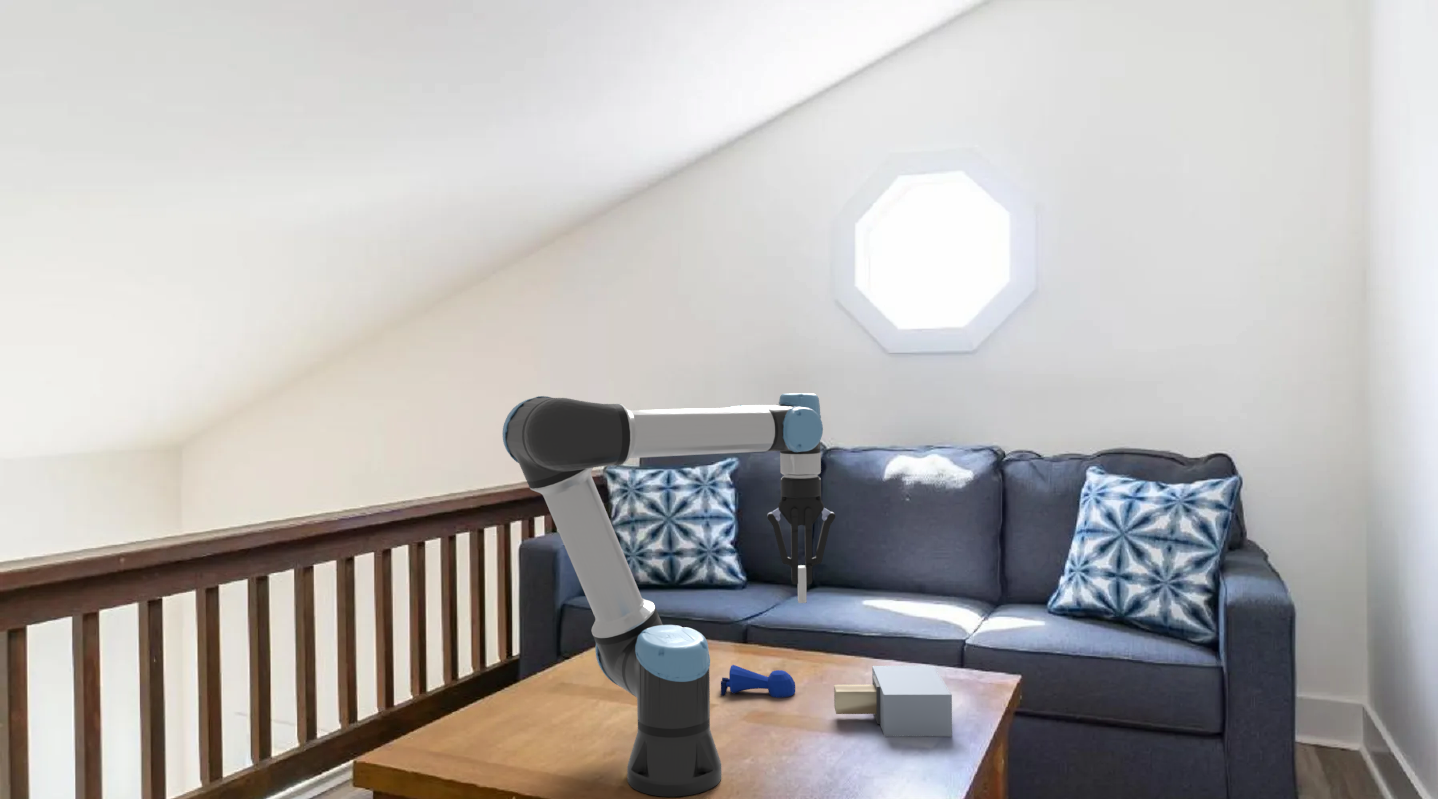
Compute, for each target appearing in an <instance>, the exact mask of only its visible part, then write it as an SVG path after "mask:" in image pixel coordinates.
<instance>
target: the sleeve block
mask: <svg viewBox="0 0 1438 799" xmlns="http://www.w3.org/2000/svg"><path fill="white" fill-rule="evenodd" d="M871 674H872V675H871V676H872V677H871V678H872V683H871V685H874V686H875V689H876V712H877V714H873V715H874V718H875V721H876V724H879V726H880V728H881V730H882V733H883V736H884V737H953V704H952V703H953V700H952V699H953V694H952V693H951V691H950V689H949V688H948V686H947V685H946V683H945V681H944V679H943V678H942V676H941V675H940V673H939V672H938V670H937V668H936V667H935V665H872V672H871Z"/></svg>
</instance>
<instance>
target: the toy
mask: <svg viewBox="0 0 1438 799" xmlns="http://www.w3.org/2000/svg"><path fill="white" fill-rule="evenodd" d="M728 673H729V677H723V676H722V677H721V681H720V696H725V694H727V689H728V688H729V691H730V692H731V693H732V694H737V693H740V692H743V691H747V690H757V689H758V690H759V689H763V690H767V691H768V693H769V696H770V697H773V698H777V699H781V698H782V699H783V698H789V697H793V695H795V693H796V682H795V681H794V679H793V677H792V676H791V674H789V673H788V672H787V671H785V670H784V669H783V670H780V669H778V670H773V671H771V672H770V674H769V675H768V676H767V675H763V674H761V673H757V672H755V671H751V670H749V669H747V668H743V667H740V666H738V665H736V664H732V665H730V668H729V672H728Z"/></svg>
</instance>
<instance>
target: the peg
mask: <svg viewBox="0 0 1438 799" xmlns="http://www.w3.org/2000/svg"><path fill="white" fill-rule="evenodd" d="M833 690H834V691H833V692H834V693H833V694H834V695H833V697H834V698H833V699H834V700H833V701H834V703H833V704H834V705H833V706H834V711H835V714H836V715H874V714H877V712H876V689H875V686H874V685H872V684H833Z"/></svg>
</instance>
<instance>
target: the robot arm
mask: <svg viewBox="0 0 1438 799" xmlns="http://www.w3.org/2000/svg"><path fill="white" fill-rule="evenodd" d="M823 428H824V427H823V421H822V415H821V407H820V399H819V397H818V395H817V394H816V393H811V392H807V393H806V392H804V393H803V392H801V393H797V392H796V393H795V392H793V393H791V392H790V393H781V394H780V395H779V400H778V403H776V404H748V405H746V404H740V405H732V406H728V407H720V408H719V407H716V408H714V407H712V408H711V407H710V408H705V407H704V408H669V409H668V408H665V409H664V408H663V409H660V408H659V409H658V408H657V409H627V407H625V405H624V404H621V403H598V402H593V401H592V402H590V401H584V400H579V399H574V398H567V397H551V396H545V395H541V396H539V395H538V396H535V397H533V398H528V399H525V400H523V401H521V402H519V403H518V404H516V406H514V407H513V408H512V409H511V410H510V412H509V413H508V414H507V416H506V417H505V420H504V422H503V426H502V442H503V445H504V448H505V450H506V452H507V453H508V455H509V456H510V457H511V458H512V459H513V460H514V462H516V463H518V464H519V467H520V469H521V471H522V473H523V476H524V478H525V480H526V483H527V485H528V487H529V489H530V490H531V491H534V492H536V493H539V494H541V495H542V497H543V498H544V501H545V503H546V505H547V507H548V510H549V513H550V515H551V517H552V520H553V523H554V524H555V527H556V529H557V532H558V533H559V536H560V538H561V542H562V543H563V545H564V548H565V550H566V553H567V555H568V557H569V560H570V562H571V564H572V567H573V569H574V571H575V573H576V576H577V579H578V581H579V583H580V586H581V588H582V590H583V593H584V595H585V597H586V599H587V602H588V604H589V607H590V609H591V611H592V613H593V616H594V619H595V620H594V623H593V625H592V627H591V634H592V636H593V639H594V641H595V647H594V648H595V651H594V652H595V659H596V660H597V661H596V662H597V664H598V666H599V668H600V670H601V671H602V673H603V674H604V675H605V677H606V678H607V679H608V680H610V682H612V683H613V684H615V685H616V686H619V687H621V688H622V689H623V690H625V691H626V692H628V693H629V694H631V695H632V696H634V697H635V698H636V699H637V700H636V701H637V702H636V704H637V705H636V706H637V708H636V709H637V732H636V737H635V740H634V743H633V747H632V749H631V753H630V756H629V760H628V763H627V767H626V768H627V769H626V770H627V772H626V774H627V779H626V780H627V783H628V785H629V786H630V787H631V788H633V789H634V790H635V791H637V792H640V793H643V794H646V795H650V796H657V797H669V798H670V797H673V798H674V797H685V796H692V795H697V794H701V793H704V792H707V791H709V790H711V789H714V788H715V787H716V786H718V785H719V783H720V782H721V780H722V761H721V759H720V755H719V753H718V749H717V747H716V744H715V740H714V738H713V734H712V732H711V724H710V723H711V720H710V719H711V717H710V716H711V715H710V714H711V711H710V710H711V708H710V707H711V706H710V702H711V701H710V700H711V699H710V698H711V697H710V691H711V690H710V686H711V683H710V667H711V656H710V650H709V643H708V641H707V639H706V637H705V636H704V635H703V634H702V633H701V632H700V631H698V630H696V629H694V628H691V627H687V626H686V627H685V626H684V627H682V626H681V625H676V624H663V622H662V620H661V618H660V615H659V613H658V610H657V608H656V605H655V603H654V602H653V601H651V600H648V599H645V598H643V597H642V595H641V592H640V590H639V588H638V585H637V582H636V581H635V578H634V575H633V573H632V570H631V569H630V566H629V564H628V560H627V558H626V555H625V553H624V551H623V549H622V547H621V544H620V542H619V539H618V536H617V534H616V532H615V529H614V527H613V525H612V522H611V520H610V518H609V514H608V512H607V511H606V508H605V505H604V503H603V500H602V498H601V495H600V494H599V491H598V489H597V485H596V484H595V481H594V479H593V476H592V472H593V468H600V467H610V466H623V465H625V464H626V463H627V462H628V461H629V459H635V458H638V459H639V458H657V457H658V458H659V457H673V456H674V457H676V456H677V457H679V456H680V457H681V456H694V455H695V456H697V455H716V454H718V455H719V454H736V453H737V454H738V453H739V454H740V453H741V454H742V453H754V452H756V453H758V452H760V453H761V452H779V456H780V458H779V459H780V460H779V461H780V466H779V467H780V474H782V477H781V478H780V501H779V503H778V505H777V508H776V509H774V510H772V511H769V512H768V513H767V520H768V521H769V522H770V524H771V526H772V527H773V528H772V529H773V531H774V536H775V540H776V542H777V547H778V551H779V554H780V559H781V563H782V564H783V565H786V566H789V567H790V569H791V570H790V571H791V584H792V585H797V603H798V604H807V602H808V601H807V585H811V584H813V567H814V566H817V565H820V564H822V562H823V558H824V555H825V549H826V545H827V541H828V536H829V532H830V527H831V525H832V524H833V522H834V521H835V519H836V514H835V512H833V511H830V510H829V509H827V507H826V508H825V505H824V503H823V500H822V479H821V477H820V476H819V475H820V474H821V472H822V471H821V470H822V468H821V467H822V466H821V464H822V463H821V461H822V458H821V456H822V455H821V440H822V438H823V430H824V429H823ZM781 514H782V516H783V517H784V519H785V520H786V522H787V523H788V525H790V550H791V551H790V555H791V556H788V553H787V549H786V544H785V541H784V537H783V533H782V529H781V525H780V520H781V516H780V515H781ZM821 514H822V515H821ZM820 515H821V519H822V520H823V521H822V524H821V529H820V534H819V539H818V542H817V547H816V551H815V555H814V556H813V532H812V531H813V524H814V523H815V522H816V521H817V519H818V518H819V517H820ZM799 526H804V562H805V565H804V564H803V565H802V564H800V565H799Z"/></svg>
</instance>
